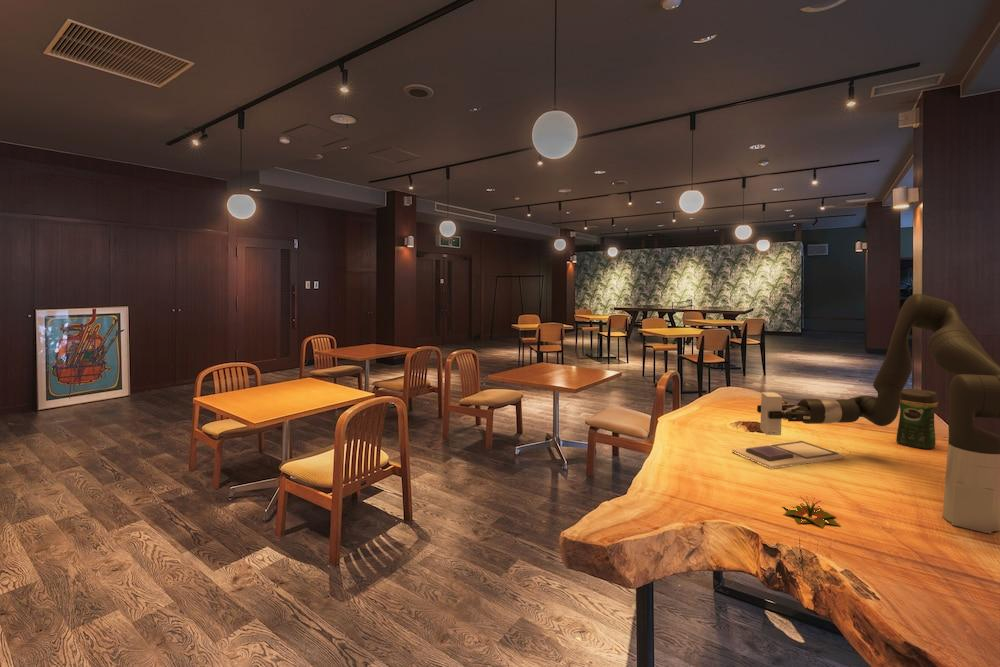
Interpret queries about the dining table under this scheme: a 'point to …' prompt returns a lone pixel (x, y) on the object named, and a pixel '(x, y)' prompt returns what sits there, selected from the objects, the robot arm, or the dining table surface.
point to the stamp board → (788, 454)
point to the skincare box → (768, 404)
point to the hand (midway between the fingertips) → (763, 411)
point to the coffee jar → (917, 418)
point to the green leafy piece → (811, 512)
